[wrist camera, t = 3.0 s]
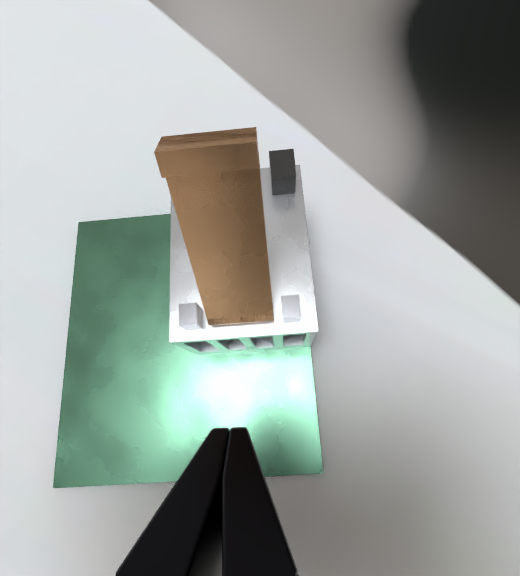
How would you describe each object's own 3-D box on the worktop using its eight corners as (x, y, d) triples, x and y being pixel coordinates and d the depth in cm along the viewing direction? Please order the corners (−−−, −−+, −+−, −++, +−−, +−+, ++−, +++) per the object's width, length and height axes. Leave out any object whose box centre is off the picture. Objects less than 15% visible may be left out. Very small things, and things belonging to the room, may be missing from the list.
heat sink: (322, 471, 20) (344, 516, 13) (57, 486, 21) (-66, 536, 13) (295, 205, 25) (299, 127, 18) (81, 224, 26) (1, 158, 18)
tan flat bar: (273, 310, 17) (274, 330, 16) (211, 315, 17) (209, 335, 16) (255, 126, 11) (256, 141, 10) (162, 136, 11) (154, 152, 10)
